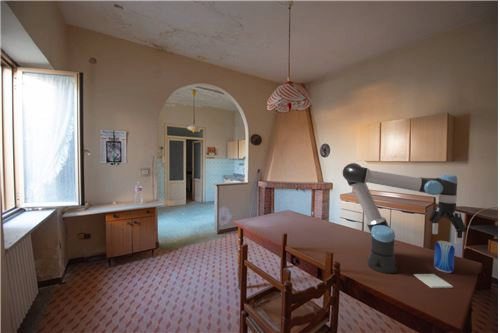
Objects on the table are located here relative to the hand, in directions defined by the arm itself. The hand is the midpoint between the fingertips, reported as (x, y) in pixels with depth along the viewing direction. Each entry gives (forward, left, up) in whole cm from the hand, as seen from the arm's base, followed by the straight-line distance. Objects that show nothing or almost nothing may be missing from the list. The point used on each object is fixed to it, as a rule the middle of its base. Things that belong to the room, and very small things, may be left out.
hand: (445, 238), depth 121 cm
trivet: (-17, -11, -19) cm, 27 cm away
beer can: (0, 0, -19) cm, 19 cm away
